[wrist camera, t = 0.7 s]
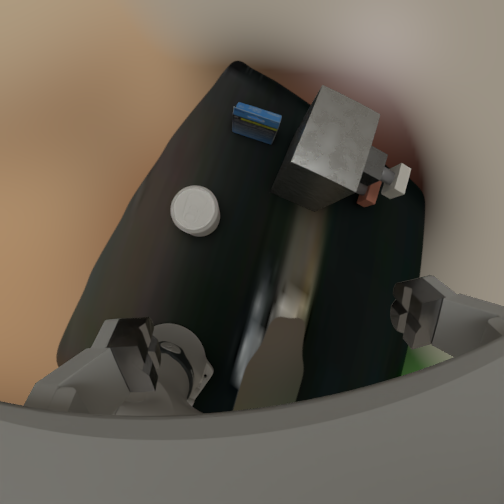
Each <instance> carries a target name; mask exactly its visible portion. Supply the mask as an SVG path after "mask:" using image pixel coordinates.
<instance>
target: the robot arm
mask: <svg viewBox="0 0 504 504" xmlns="http://www.w3.org/2000/svg"><path fill="white" fill-rule="evenodd" d="M393 295H394V297H395V299H396V300H395V301H394V302H393V304H392V305H391V312H390V315H391V321H392V324H393V326H394V327H395V329H396V330H397V331H399V332H401V333H404V334H403V339H404V340H405V341H406V343H407V344H408V345H409V346H410V348H411V349H415V348H418V347H422V346H425V345H429V344H432V345H433V346H435V347H437V348H439V349H440V350H442V351H444V352H446V353H448V354H450V355H451V356H453V357H454V358H451V359H449V360H446V361H444V362H441V363H438V364H435V365H433V366H430V367H427V368H424V369H422V370H419V371H416V372H413V373H410V374H407V375H403V376H400V377H397V378H394V379H391V380H387V381H384V382H380V383H377V384H373V385H370V386H366V387H362V388H358V389H355V390H351V391H346V392H342V393H338V394H334V395H329V396H325V397H320V398H315V399H310V400H305V401H299V402H294V403H288V404H282V405H276V406H269V407H263V408H255V409H247V410H238V411H229V412H218V413H206V414H203V413H201V412H200V411H198V410H196V409H195V408H194V407H192V406H193V404H194V401H195V399H196V397H197V396H198V394H199V393H200V392H201V390H202V389H203V387H204V386H205V385H206V383H207V382H208V381H209V379H210V378H211V376H212V375H213V372H214V369H213V367H212V366H211V364H210V363H209V362H208V360H207V359H206V356H205V352H204V348H203V346H202V344H201V342H200V340H199V339H198V338H197V336H196V335H195V334H194V333H192V332H191V331H190V330H188V329H187V328H185V327H183V326H180V325H177V324H171V323H165V324H160V325H156V326H153V323H152V320H151V319H150V318H149V317H140V318H122V319H108V320H105V321H104V323H103V325H102V327H101V329H100V331H99V333H98V335H97V337H96V339H95V341H94V343H93V345H92V347H91V348H87V349H85V350H84V351H82V352H81V353H79V354H78V355H76V356H75V357H73V358H72V359H70V360H69V361H68V362H66V363H65V364H63V365H62V366H60V367H59V368H57V369H56V370H54V371H53V372H51V373H50V374H48V375H47V376H46V377H44V378H43V379H41V380H40V381H38V382H37V383H35V385H34V387H33V389H32V391H31V393H30V395H29V396H28V398H27V400H26V402H25V404H24V406H22V405H16V404H11V403H6V402H1V401H0V504H504V306H501V305H497V304H494V303H490V302H487V301H483V300H480V299H477V298H473V297H470V296H466V295H463V294H456V293H455V292H454V291H452V290H451V289H450V288H449V287H447V286H446V285H445V284H444V283H442V282H441V281H439V280H438V279H437V278H436V277H435V276H432V275H429V276H425V277H421V278H417V279H413V280H408V281H404V282H400V283H396V284H395V287H394V291H393ZM204 374H206V375H207V376H206V377H204Z"/></svg>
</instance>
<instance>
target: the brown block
mask: <svg viewBox="0 0 504 504" xmlns="http://www.w3.org/2000/svg"><path fill="white" fill-rule="evenodd" d="M381 183H382V182H381V181H378V182H376V183H374V184H372V185H370V186H366V185H364V184H362V183H360V182H359V185H358V188H357V191H356V193H358V194H359V197H358V200H357V204H359V205H361V206H363V207H367V206H370V205H373V204H375V202H376V199H377V196H378V192H379V189H380V186H381Z"/></svg>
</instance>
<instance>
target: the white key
mask: <svg viewBox="0 0 504 504" xmlns="http://www.w3.org/2000/svg"><path fill="white" fill-rule="evenodd" d="M410 171H411V169H410V168H409V167H407V166H406V165H404V164H402V163H401V164H399V165H397V166H395V167H393V168H391V169H387V168H386V167H384V169H383V173H382V176H381V179H380V181H382V182H384V186H383V189H382V192H381V194H382V195H384V196H386V197H388V198H390V199H391V198H394V197H397V196H400V195H404V194H405V190H406V186H407V183H408V179H409V175H410Z"/></svg>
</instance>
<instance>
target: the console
mask: <svg viewBox="0 0 504 504" xmlns="http://www.w3.org/2000/svg"><path fill="white" fill-rule="evenodd" d="M379 117H380V114H379V113H377V112H375V111H373V110H371V109H370V108H368V107H366V106H364V105H362V104H360V103H358V102H356V101H354V100H352V99H351V98H349V97H346V96H345V95H343V94H341V93H339V92H336V91H334V90H332V89H330V88H328V87H326V86H324V85H322V87H321V89H320V90H319V92H318V94H317V96H316V97H315V99H314V101H313V102H312V104H311V106H310V108H309V109H308V111H307V113H306V115H305V116H304V118H303V120H302V122H301V124H300V125H299V127H298V129H297V131H296V132H295V134H294V136H293V139H292V141H291V143H290V146H289V148H288V150H287V153H286V155H285V158H284V160H283V162H282V165H281V167H280V169H279V172H278V174H277V177H276V179H275V181H274V184H273V186H272V189H271V191H270V193H273V194H275V195H277V196H280V197H282V198H284V199H287V200H289V201H291V202H293V203H296V204H298V205H300V206H302V207H305V208H307V209H309V210H311V211H313V212H315V211H317V210H320V209H322V208H324V207H326V206H328V205H330V204H332V203H334V202H337V201H339V200H341V199H343V198H345V197H347V196H349V195H352V194H354V193H356V191H357V188H358V185H359V182H360V183H362V184H364V185H366V186H370V185H372V184H374V183H376V182H378V181H380V179H381V176H382V173H383V169H384V166H385V162H386V159H387V156H388V155H387V154H385V153H384V152H382V151H380V150H378V149H377V148H375V147H373V146H371V145H372V141H373V138H374V135H375V131H376V128H377V124H378V121H379Z"/></svg>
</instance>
